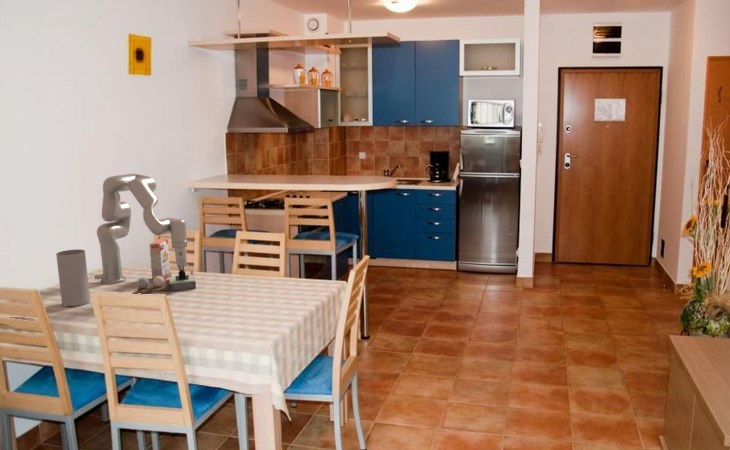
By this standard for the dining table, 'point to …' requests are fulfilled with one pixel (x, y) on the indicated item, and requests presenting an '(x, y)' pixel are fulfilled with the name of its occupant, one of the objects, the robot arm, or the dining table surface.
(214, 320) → the dining table surface
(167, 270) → the cracker box
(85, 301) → the cylinder vase
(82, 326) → the dining table surface
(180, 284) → the bin
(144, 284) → the grey matte ball
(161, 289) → the board
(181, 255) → the robot arm
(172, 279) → the lid
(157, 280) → the cream matte ball
